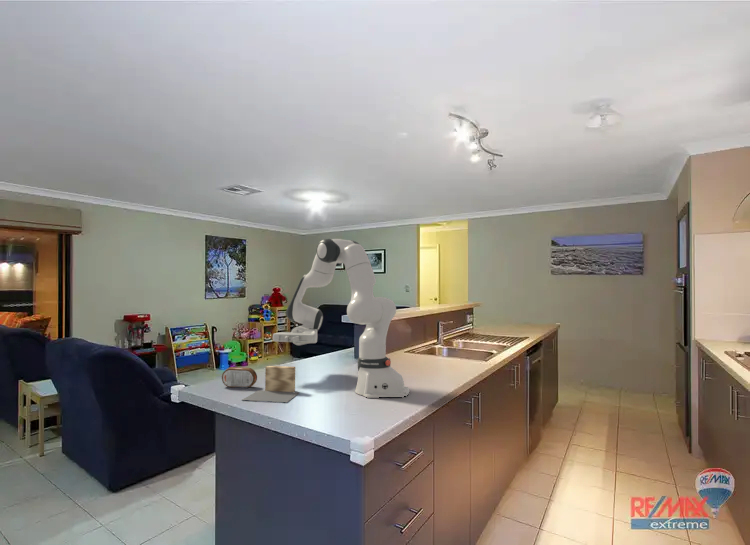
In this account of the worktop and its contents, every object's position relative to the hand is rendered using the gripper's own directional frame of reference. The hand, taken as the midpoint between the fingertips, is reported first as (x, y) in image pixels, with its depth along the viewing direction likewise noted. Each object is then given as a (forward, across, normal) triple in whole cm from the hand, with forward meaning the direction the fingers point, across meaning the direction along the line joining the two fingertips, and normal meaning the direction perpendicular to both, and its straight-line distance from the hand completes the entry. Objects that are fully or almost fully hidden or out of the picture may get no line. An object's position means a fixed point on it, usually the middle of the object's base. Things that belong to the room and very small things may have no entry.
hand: (289, 339), depth 164 cm
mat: (+17, 0, +20) cm, 27 cm away
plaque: (+9, 0, +20) cm, 22 cm away
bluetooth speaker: (+6, -20, +20) cm, 29 cm away
